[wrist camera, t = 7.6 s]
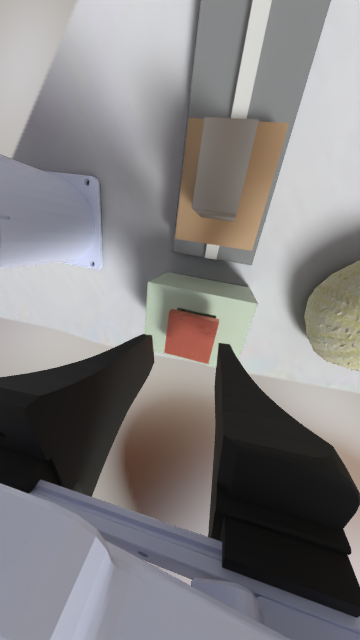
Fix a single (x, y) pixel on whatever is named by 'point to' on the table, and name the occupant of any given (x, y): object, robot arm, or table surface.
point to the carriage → (227, 179)
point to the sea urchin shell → (336, 318)
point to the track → (251, 77)
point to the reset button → (190, 335)
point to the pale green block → (200, 309)
